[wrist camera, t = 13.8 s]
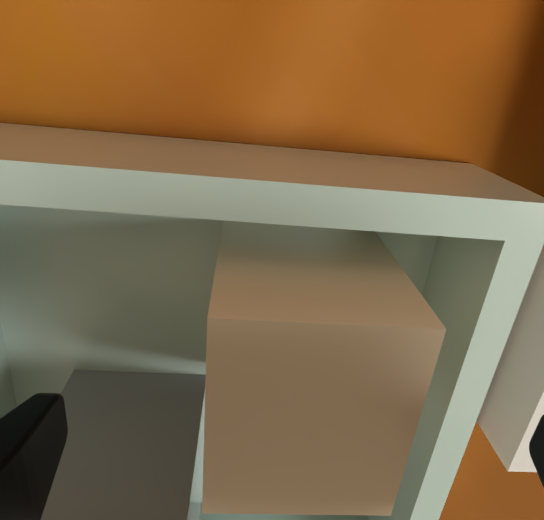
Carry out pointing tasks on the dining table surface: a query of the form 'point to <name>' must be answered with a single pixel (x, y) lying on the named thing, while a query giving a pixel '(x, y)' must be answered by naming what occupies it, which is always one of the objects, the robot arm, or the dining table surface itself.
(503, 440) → the parts tray
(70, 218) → the dish
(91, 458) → the tall grey box
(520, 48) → the dining table surface
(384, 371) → the sand brown box
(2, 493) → the robot arm
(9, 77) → the dining table surface
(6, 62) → the dining table surface
